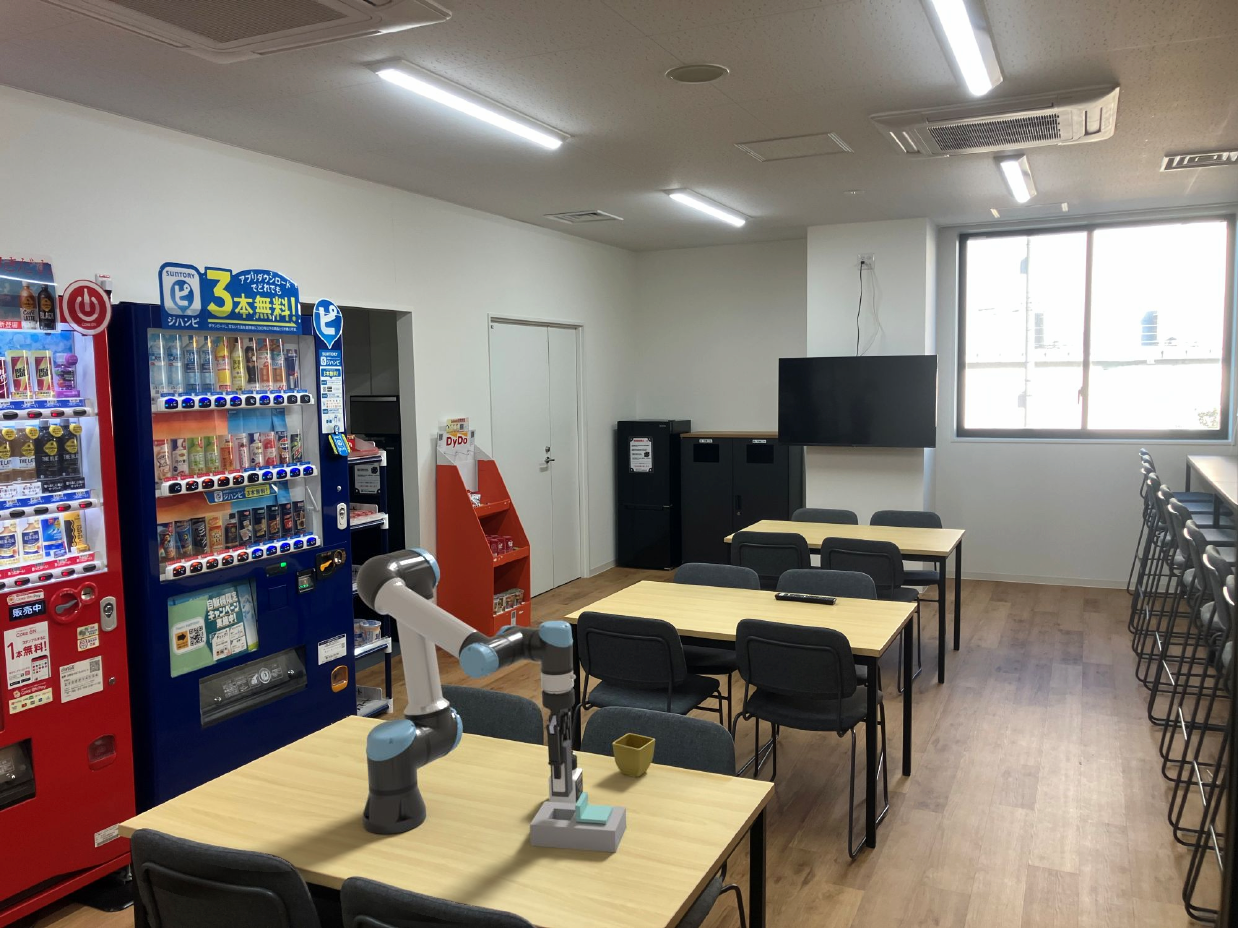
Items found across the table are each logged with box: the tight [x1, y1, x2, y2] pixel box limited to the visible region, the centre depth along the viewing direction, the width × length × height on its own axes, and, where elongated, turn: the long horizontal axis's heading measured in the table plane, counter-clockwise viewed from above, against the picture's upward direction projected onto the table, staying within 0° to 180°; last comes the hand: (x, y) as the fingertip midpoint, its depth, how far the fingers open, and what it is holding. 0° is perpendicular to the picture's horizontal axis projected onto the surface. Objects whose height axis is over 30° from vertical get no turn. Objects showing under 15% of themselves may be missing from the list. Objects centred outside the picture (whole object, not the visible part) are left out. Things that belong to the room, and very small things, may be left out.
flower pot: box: [611, 732, 656, 778], centre depth 249 cm, size 9×9×9 cm
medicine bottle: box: [548, 752, 584, 804], centre depth 233 cm, size 7×7×12 cm
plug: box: [549, 740, 573, 797], centre depth 214 cm, size 4×4×12 cm
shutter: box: [575, 791, 614, 824], centre depth 213 cm, size 7×7×4 cm
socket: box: [529, 801, 627, 853], centre depth 214 cm, size 20×12×5 cm, turn 78°
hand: (562, 786), depth 214 cm, fingers closed on plug, 4 cm apart
